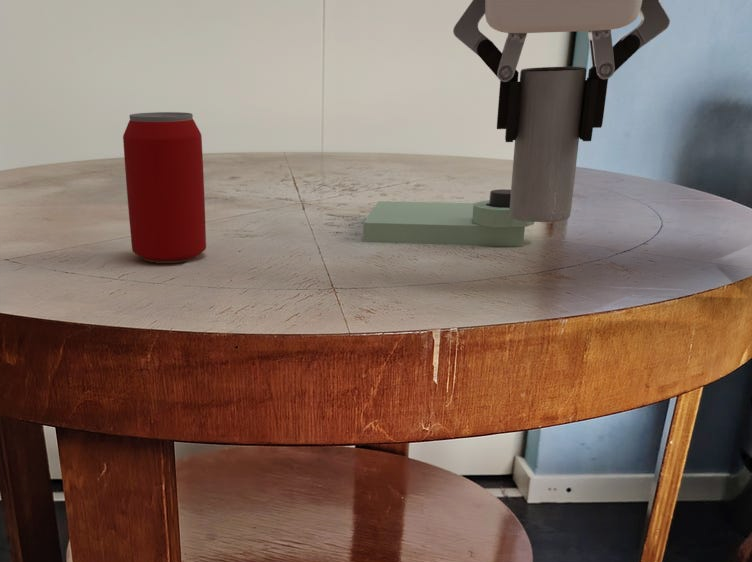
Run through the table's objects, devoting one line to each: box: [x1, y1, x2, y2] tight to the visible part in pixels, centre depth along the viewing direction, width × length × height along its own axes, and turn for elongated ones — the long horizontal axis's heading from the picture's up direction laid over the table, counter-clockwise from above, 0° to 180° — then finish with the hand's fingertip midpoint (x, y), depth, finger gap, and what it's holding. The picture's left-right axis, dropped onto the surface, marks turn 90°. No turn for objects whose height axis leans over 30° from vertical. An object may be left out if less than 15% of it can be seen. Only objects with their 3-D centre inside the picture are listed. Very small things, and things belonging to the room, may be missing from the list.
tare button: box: [489, 189, 511, 208], centre depth 84 cm, size 3×3×2 cm
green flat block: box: [362, 199, 535, 248], centre depth 90 cm, size 16×14×4 cm
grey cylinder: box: [509, 66, 587, 223], centre depth 67 cm, size 4×4×10 cm
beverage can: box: [122, 111, 207, 264], centre depth 79 cm, size 7×7×12 cm
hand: (547, 136), depth 66 cm, fingers closed on grey cylinder, 4 cm apart
